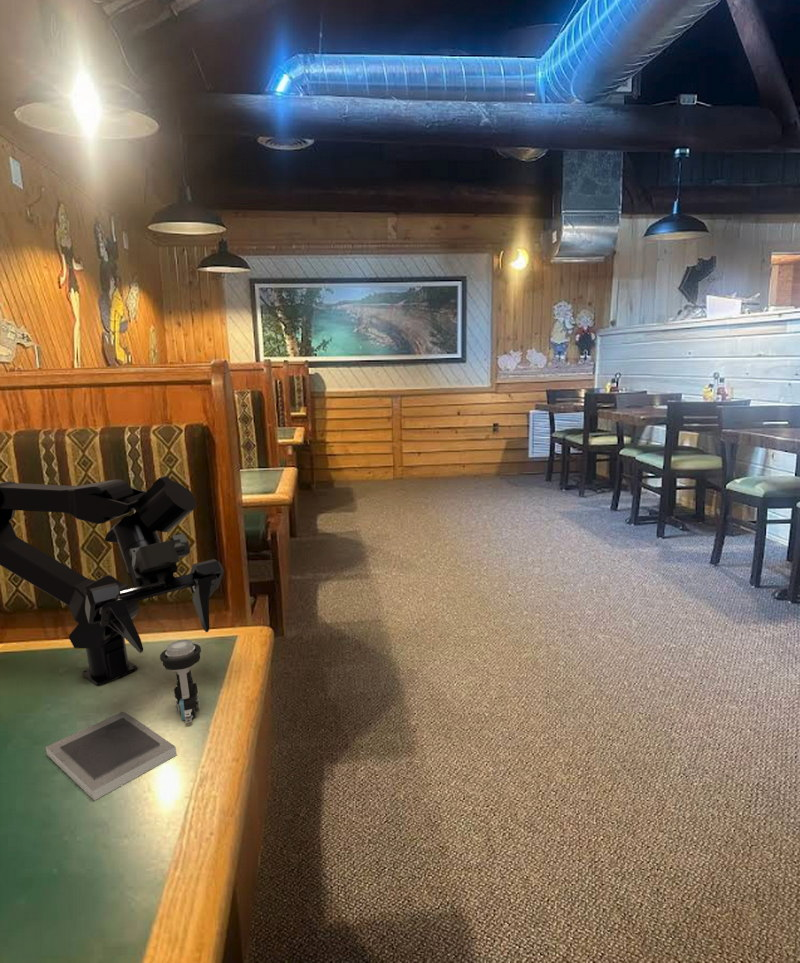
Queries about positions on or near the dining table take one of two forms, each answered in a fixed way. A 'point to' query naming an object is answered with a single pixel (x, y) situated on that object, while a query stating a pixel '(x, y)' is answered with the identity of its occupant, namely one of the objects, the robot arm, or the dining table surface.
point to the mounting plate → (110, 753)
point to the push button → (183, 675)
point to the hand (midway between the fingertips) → (175, 640)
